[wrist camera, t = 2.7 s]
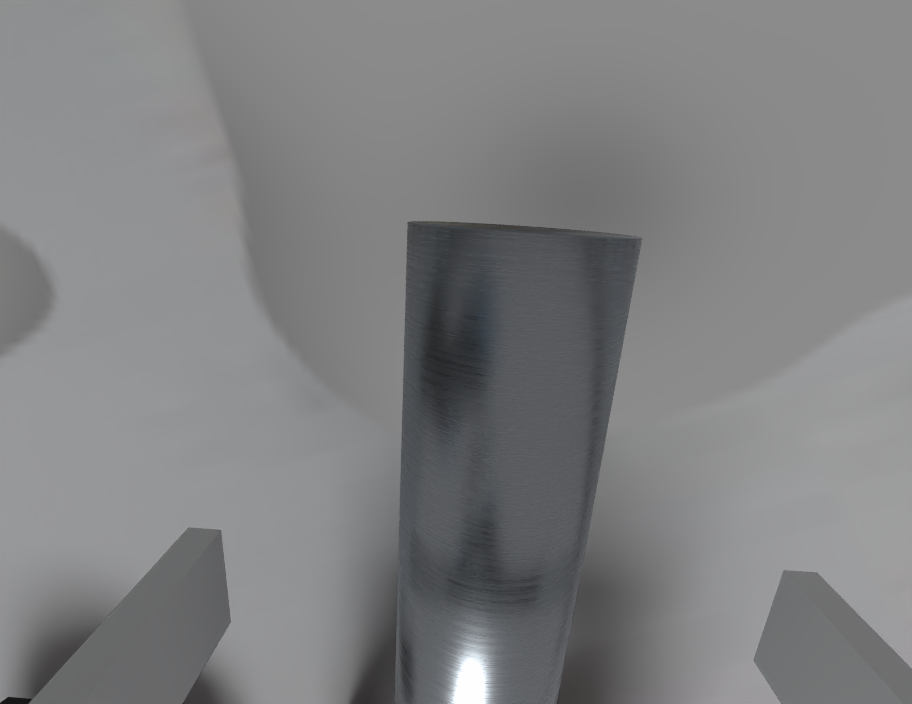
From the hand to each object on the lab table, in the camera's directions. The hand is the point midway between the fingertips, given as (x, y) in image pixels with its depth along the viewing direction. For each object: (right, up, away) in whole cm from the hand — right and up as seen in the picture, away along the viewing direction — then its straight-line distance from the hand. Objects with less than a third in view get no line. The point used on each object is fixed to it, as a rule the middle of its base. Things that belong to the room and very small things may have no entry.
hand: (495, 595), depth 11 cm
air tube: (0, -3, +4) cm, 5 cm away
